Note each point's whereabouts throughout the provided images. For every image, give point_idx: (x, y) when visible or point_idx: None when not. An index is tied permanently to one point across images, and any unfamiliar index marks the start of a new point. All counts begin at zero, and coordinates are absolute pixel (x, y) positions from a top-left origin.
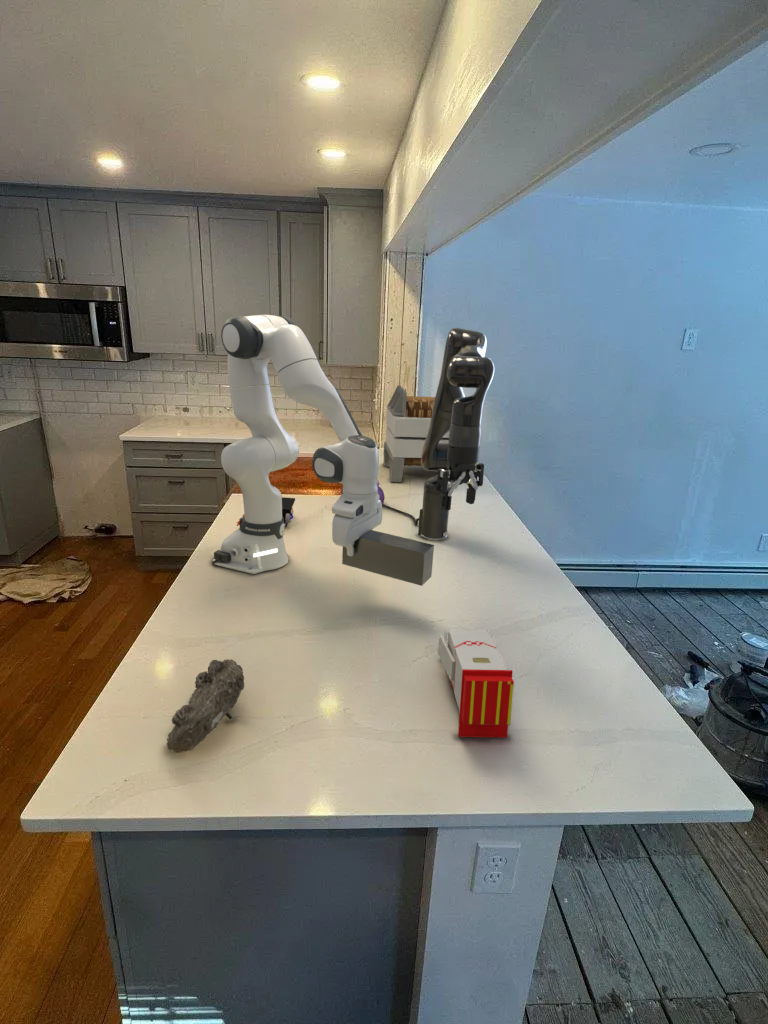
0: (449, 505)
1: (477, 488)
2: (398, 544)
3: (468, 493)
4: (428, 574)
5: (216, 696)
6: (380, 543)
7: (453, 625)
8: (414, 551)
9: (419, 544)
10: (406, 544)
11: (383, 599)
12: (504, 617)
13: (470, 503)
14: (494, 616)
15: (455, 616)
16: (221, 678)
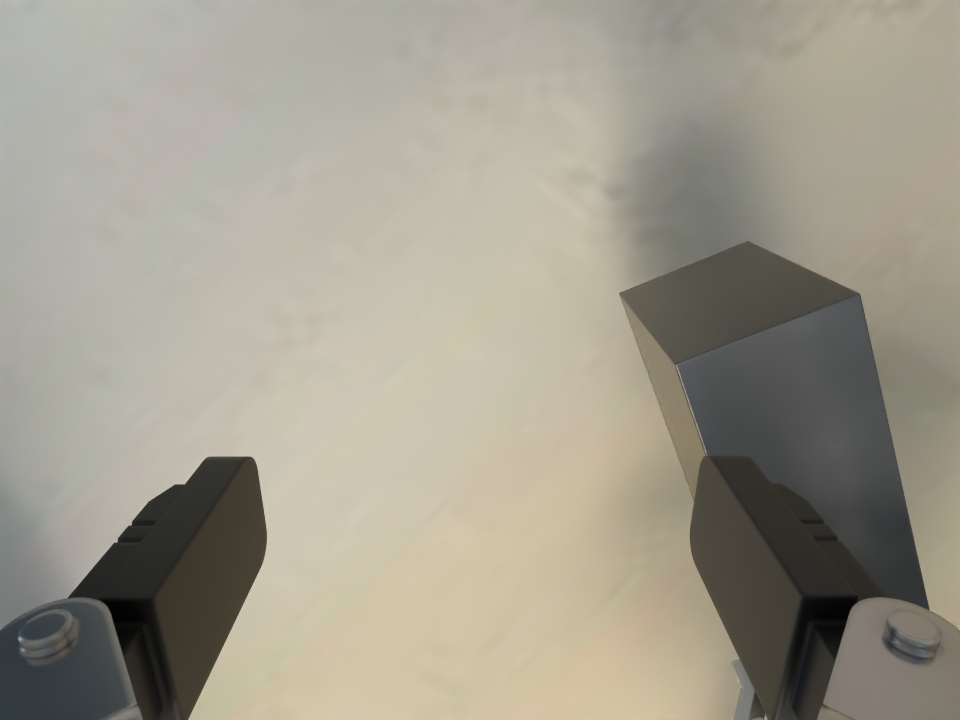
0: (762, 490)
1: (23, 615)
2: (865, 498)
3: (210, 626)
4: (677, 281)
5: None
6: (918, 572)
7: (564, 111)
8: (873, 363)
9: (754, 425)
10: (825, 471)
11: (635, 432)
12: (312, 10)
13: (255, 480)
14: (348, 49)
15: (499, 163)
16: None
